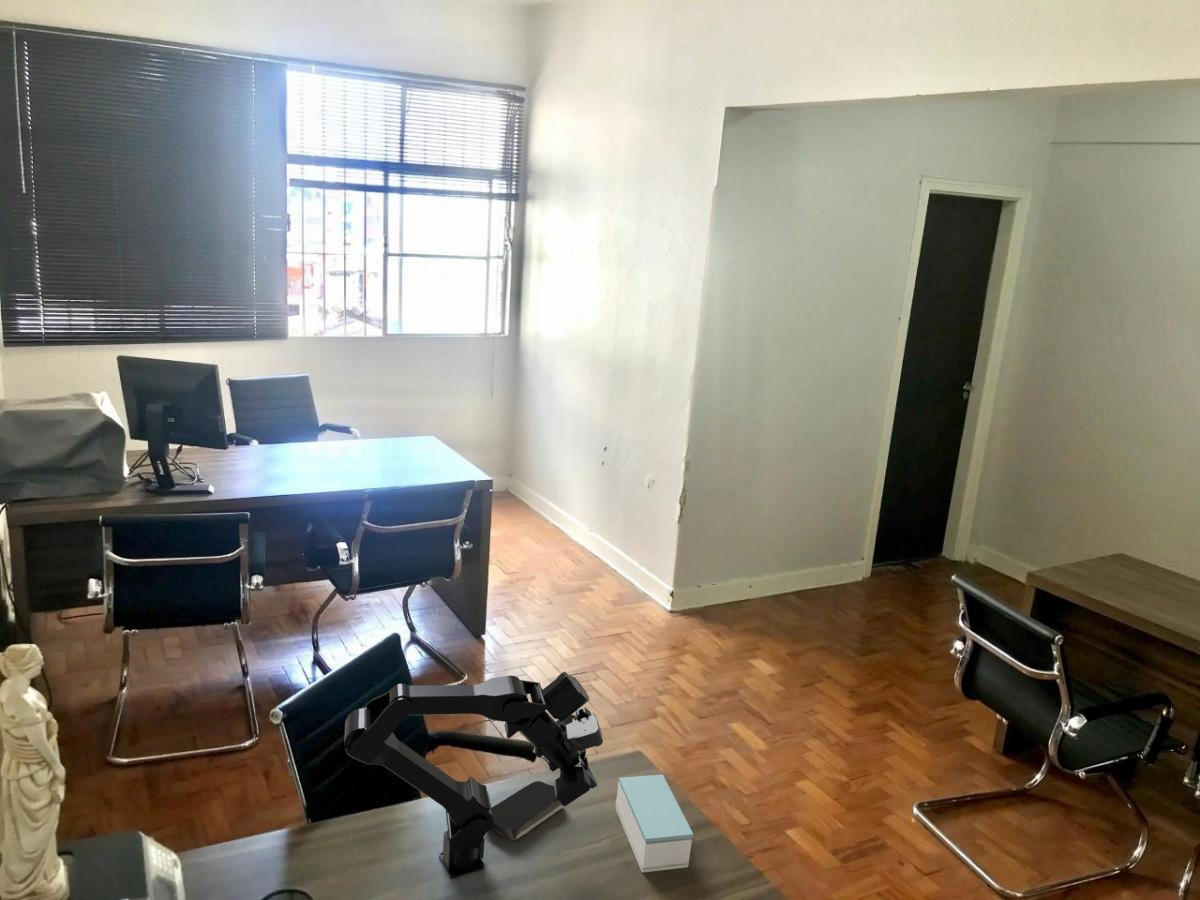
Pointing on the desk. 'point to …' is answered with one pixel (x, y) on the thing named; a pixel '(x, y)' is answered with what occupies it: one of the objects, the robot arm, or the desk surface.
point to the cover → (655, 808)
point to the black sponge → (524, 810)
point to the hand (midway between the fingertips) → (595, 785)
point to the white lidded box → (651, 843)
